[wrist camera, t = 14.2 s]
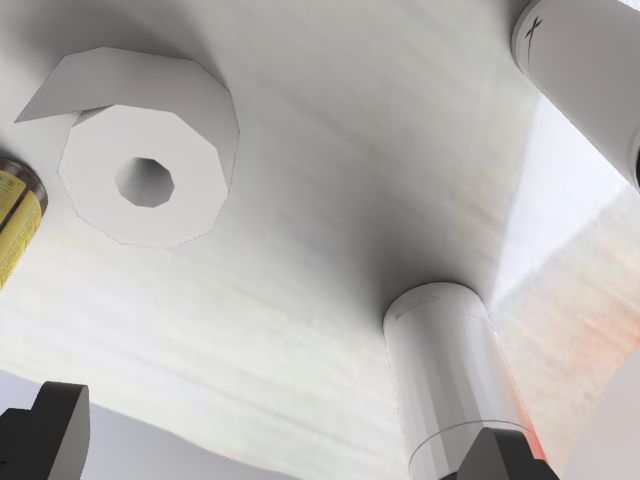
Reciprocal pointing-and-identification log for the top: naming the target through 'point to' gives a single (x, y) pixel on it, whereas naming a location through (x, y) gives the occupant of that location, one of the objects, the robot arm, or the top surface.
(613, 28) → the travel mug
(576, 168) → the top surface
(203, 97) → the toilet tissue
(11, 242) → the sauce bottle
